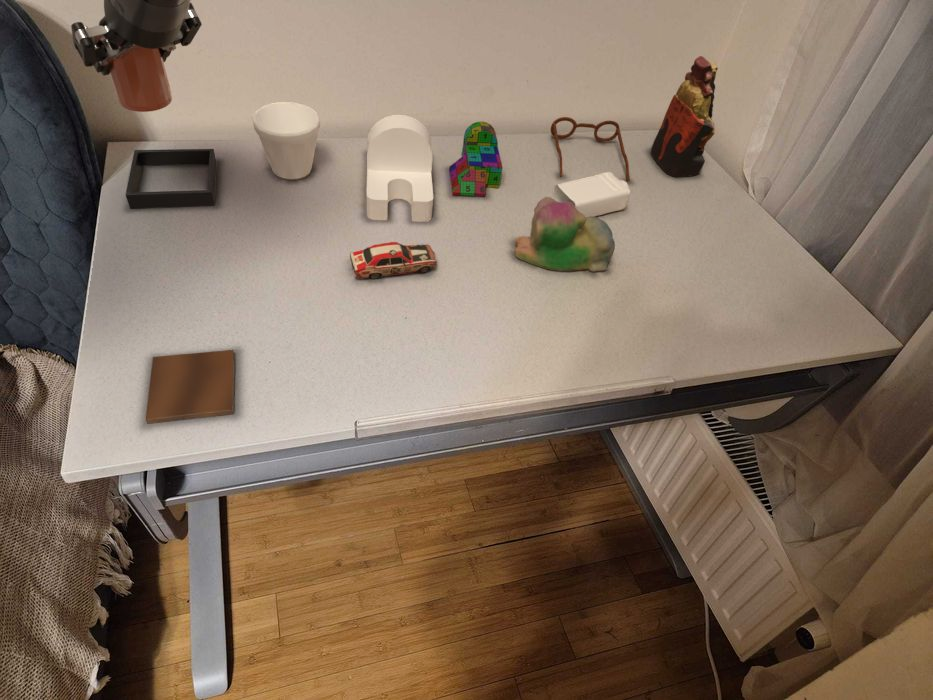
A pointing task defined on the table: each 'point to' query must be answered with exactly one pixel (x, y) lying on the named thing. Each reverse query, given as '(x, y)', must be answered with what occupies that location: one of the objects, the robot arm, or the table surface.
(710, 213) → the table surface
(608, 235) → the sculpture
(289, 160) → the cup
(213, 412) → the walnut board
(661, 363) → the table surface
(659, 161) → the statue
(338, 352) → the table surface
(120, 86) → the terracotta cup
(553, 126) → the glasses
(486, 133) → the multicoloured toy chair
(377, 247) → the race car
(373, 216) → the bracket
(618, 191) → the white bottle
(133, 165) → the dark grey square frame
